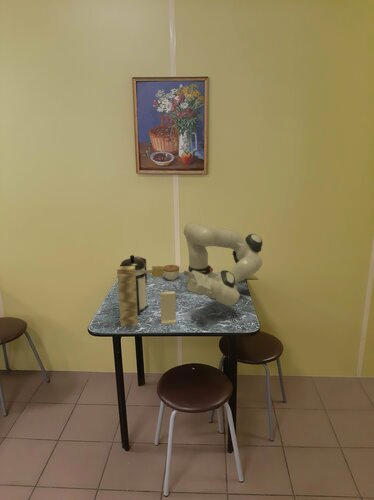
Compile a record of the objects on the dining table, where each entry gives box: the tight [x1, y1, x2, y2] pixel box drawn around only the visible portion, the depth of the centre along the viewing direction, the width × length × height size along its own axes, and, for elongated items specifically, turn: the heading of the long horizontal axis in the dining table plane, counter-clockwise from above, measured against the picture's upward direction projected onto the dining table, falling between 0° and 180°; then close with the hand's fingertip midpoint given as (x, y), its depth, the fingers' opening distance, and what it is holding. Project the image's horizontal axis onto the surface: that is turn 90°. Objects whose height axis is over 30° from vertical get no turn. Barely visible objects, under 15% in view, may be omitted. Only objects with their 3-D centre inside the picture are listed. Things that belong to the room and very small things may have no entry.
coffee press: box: [119, 254, 149, 316], centre depth 182 cm, size 17×16×30 cm
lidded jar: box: [163, 264, 180, 281], centre depth 229 cm, size 11×11×9 cm
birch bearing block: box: [116, 266, 139, 327], centre depth 169 cm, size 8×6×28 cm
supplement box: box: [134, 255, 148, 283], centre depth 223 cm, size 9×5×16 cm, turn 44°
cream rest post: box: [159, 290, 177, 326], centre depth 174 cm, size 7×8×15 cm
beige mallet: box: [135, 265, 164, 278], centre depth 167 cm, size 18×4×4 cm, turn 97°
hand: (185, 275), depth 171 cm, fingers open, 8 cm apart
